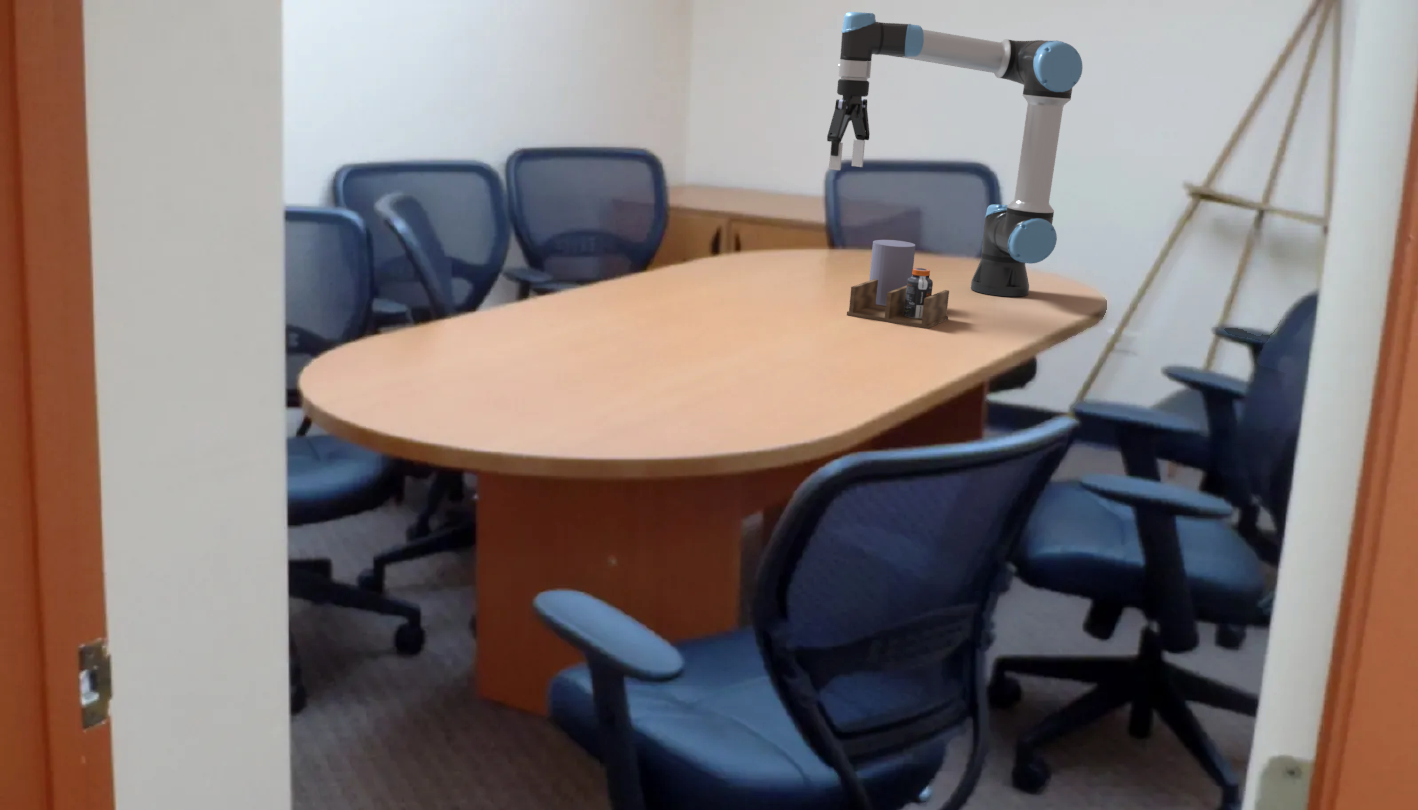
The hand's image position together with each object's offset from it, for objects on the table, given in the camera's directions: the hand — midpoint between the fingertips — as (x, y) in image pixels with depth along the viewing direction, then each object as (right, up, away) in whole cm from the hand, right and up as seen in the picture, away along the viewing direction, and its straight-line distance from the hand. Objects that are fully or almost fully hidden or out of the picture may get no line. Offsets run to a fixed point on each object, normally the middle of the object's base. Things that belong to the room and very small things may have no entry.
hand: (846, 168), depth 331 cm
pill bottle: (+15, -37, -15) cm, 43 cm away
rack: (+11, -37, -12) cm, 41 cm away
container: (+11, -33, +3) cm, 35 cm away
